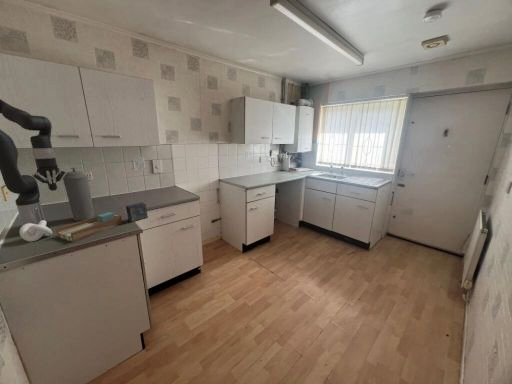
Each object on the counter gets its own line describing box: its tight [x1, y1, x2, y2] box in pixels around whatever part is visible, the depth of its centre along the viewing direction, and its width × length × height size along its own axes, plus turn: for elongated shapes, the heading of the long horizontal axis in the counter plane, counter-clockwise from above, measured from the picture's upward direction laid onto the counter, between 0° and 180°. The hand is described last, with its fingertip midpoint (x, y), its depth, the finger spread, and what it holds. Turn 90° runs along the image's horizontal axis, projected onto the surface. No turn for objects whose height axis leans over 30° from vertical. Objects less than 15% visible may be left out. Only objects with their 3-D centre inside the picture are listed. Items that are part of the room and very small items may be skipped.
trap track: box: [55, 214, 123, 243], centre depth 124 cm, size 14×27×5 cm, turn 158°
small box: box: [125, 202, 149, 223], centre depth 140 cm, size 11×6×10 cm, turn 141°
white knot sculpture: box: [18, 219, 53, 242], centre depth 113 cm, size 11×12×9 cm
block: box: [97, 211, 115, 222], centre depth 131 cm, size 5×7×4 cm
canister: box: [62, 167, 95, 222], centre depth 137 cm, size 13×13×35 cm
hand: (53, 190), depth 109 cm, fingers closed
